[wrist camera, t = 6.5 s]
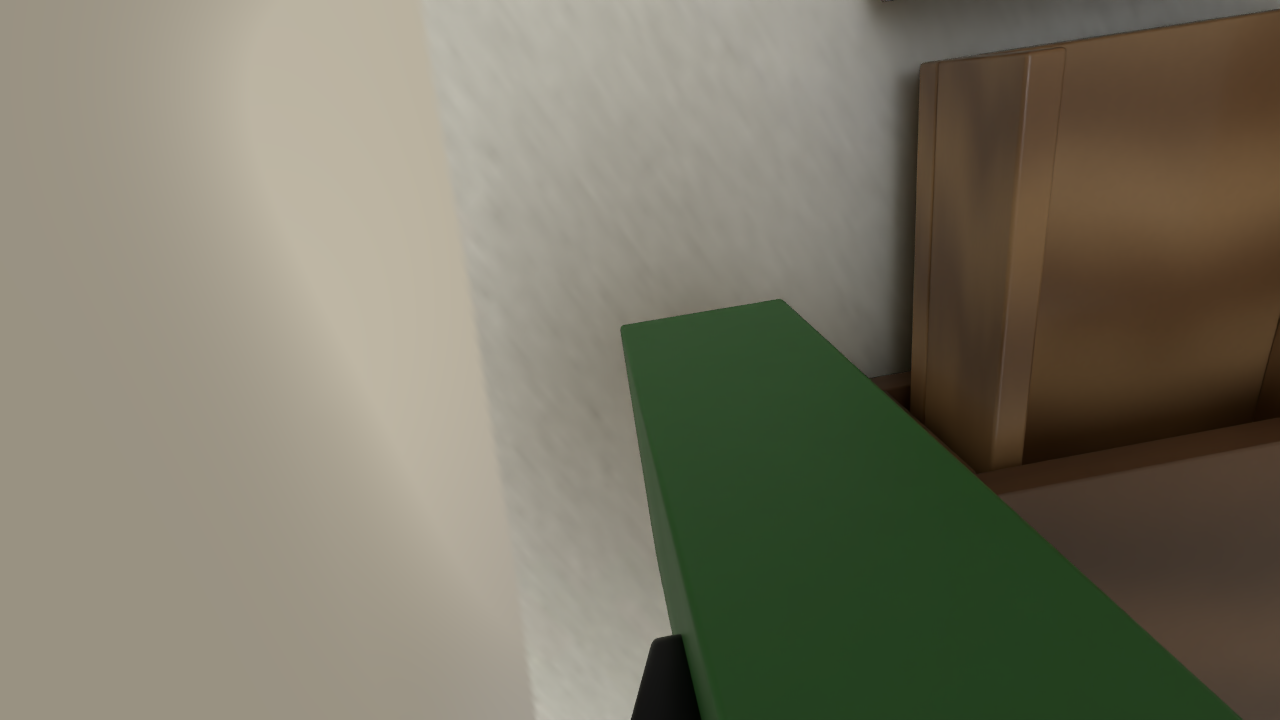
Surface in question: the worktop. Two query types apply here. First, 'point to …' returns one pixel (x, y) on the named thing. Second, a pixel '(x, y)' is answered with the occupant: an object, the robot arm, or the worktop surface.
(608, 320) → the worktop surface
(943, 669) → the green rectangular block
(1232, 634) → the cabinet
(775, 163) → the worktop surface
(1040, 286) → the drawer
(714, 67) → the worktop surface
